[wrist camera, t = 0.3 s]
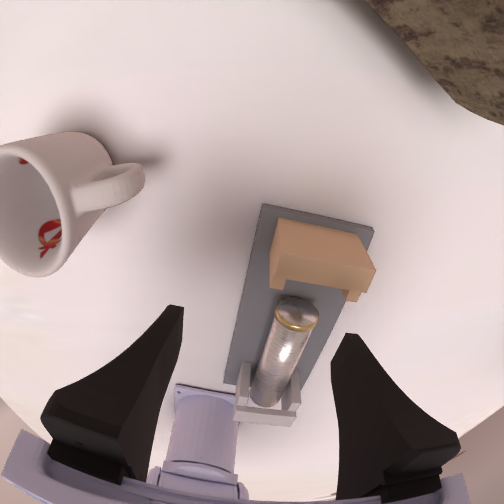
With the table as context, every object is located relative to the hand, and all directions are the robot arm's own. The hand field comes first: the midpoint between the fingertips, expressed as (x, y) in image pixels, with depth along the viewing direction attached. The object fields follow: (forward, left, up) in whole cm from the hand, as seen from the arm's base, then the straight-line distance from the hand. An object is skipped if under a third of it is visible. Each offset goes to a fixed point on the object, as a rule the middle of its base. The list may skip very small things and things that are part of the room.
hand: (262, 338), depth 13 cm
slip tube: (-10, -3, -10) cm, 14 cm away
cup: (+3, +13, -10) cm, 16 cm away
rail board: (-7, -3, -10) cm, 13 cm away
